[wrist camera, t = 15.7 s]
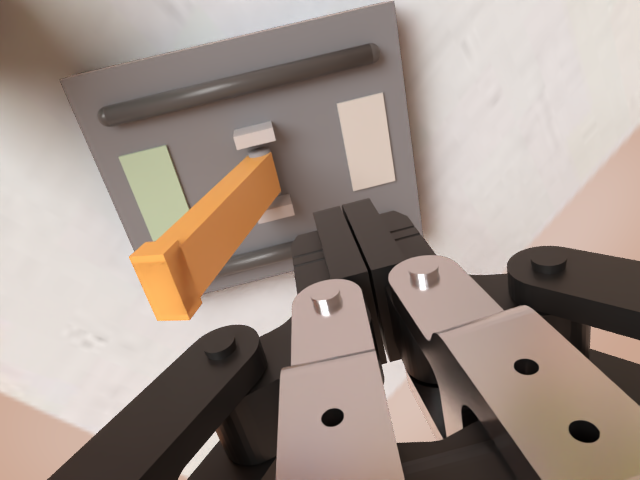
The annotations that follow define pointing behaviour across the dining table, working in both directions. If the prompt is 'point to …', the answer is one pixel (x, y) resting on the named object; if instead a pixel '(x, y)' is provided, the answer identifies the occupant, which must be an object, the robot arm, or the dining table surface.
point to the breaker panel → (256, 129)
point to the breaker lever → (205, 238)
